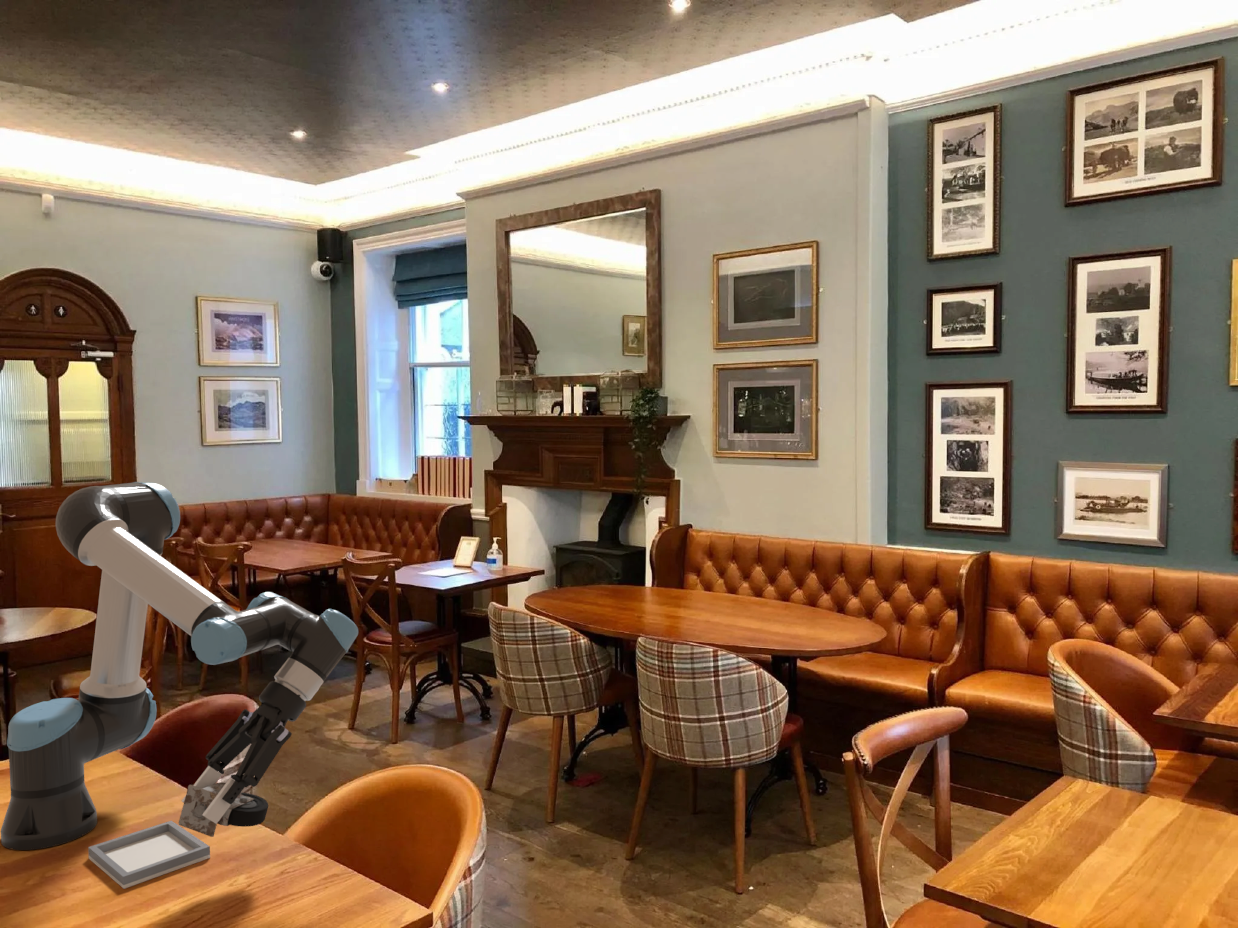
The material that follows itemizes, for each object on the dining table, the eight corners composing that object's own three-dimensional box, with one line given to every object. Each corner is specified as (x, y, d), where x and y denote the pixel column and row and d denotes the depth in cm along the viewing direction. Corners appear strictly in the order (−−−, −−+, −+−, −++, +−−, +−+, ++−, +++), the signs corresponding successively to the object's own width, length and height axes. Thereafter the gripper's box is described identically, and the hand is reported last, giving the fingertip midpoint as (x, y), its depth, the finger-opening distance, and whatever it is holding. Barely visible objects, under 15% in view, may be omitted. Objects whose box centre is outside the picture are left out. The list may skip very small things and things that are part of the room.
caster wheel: (271, 829, 156) (235, 847, 147) (214, 808, 159) (175, 825, 149) (281, 790, 157) (246, 806, 147) (224, 770, 159) (186, 784, 149)
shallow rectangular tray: (88, 858, 160) (88, 846, 160) (171, 830, 171) (171, 820, 170) (123, 888, 149) (123, 876, 149) (210, 857, 160) (209, 846, 160)
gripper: (335, 714, 156) (243, 841, 145) (276, 691, 169) (189, 805, 158) (305, 690, 151) (209, 819, 140) (248, 668, 165) (155, 784, 154)
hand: (198, 812), depth 149 cm, fingers closed on caster wheel, 7 cm apart
